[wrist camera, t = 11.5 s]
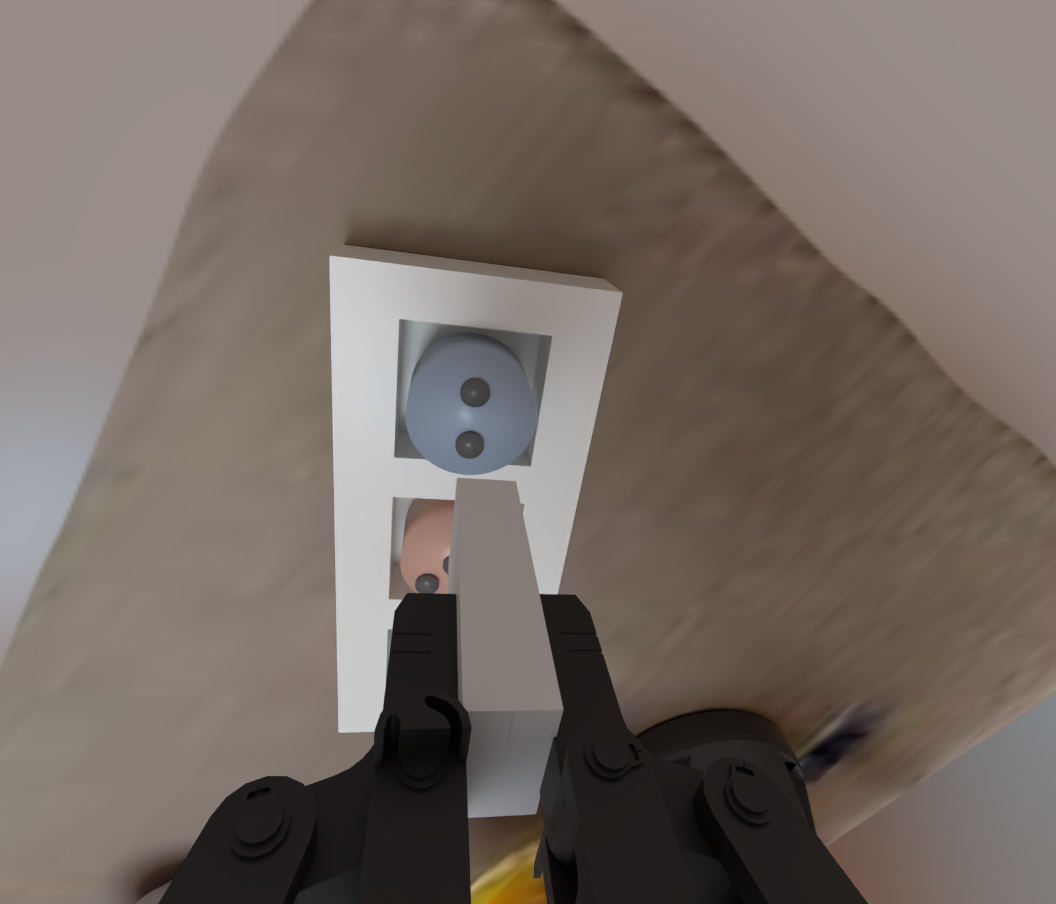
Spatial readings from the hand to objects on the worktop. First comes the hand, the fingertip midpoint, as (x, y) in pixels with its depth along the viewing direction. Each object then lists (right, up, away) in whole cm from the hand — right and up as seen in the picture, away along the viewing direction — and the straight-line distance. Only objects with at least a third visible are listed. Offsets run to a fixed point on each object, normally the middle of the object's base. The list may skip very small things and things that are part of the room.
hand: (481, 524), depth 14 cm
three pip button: (-3, -2, +14) cm, 14 cm away
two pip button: (-1, +5, +9) cm, 10 cm away
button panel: (-3, -2, +15) cm, 15 cm away
